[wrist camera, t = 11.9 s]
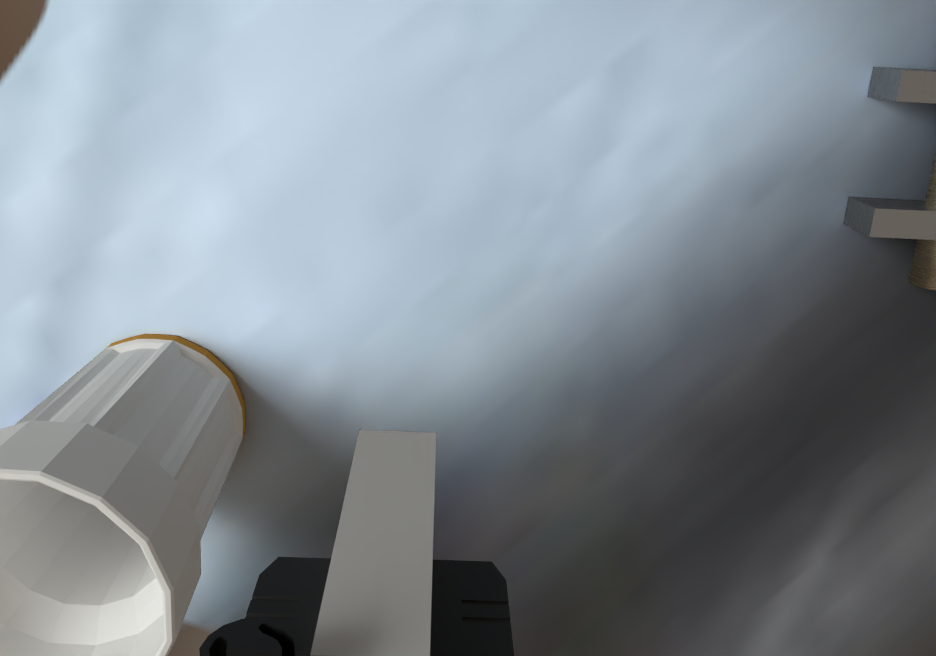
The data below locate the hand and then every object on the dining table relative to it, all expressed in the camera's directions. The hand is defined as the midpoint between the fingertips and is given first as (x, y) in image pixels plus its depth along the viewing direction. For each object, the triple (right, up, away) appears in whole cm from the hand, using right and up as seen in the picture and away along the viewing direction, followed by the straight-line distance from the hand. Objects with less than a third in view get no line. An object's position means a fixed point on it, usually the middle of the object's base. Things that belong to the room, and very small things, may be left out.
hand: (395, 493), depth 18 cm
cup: (-15, -1, +31) cm, 35 cm away
